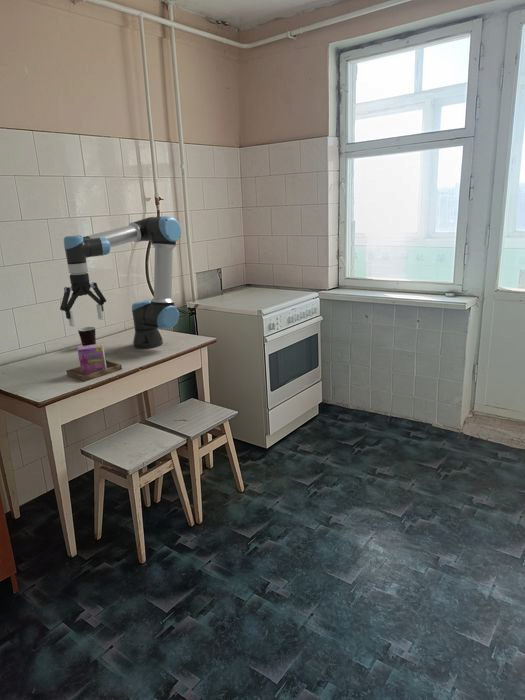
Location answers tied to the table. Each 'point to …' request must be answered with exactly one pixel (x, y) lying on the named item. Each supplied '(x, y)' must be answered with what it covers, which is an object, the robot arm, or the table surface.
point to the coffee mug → (87, 335)
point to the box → (91, 358)
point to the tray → (110, 368)
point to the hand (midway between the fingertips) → (86, 322)
